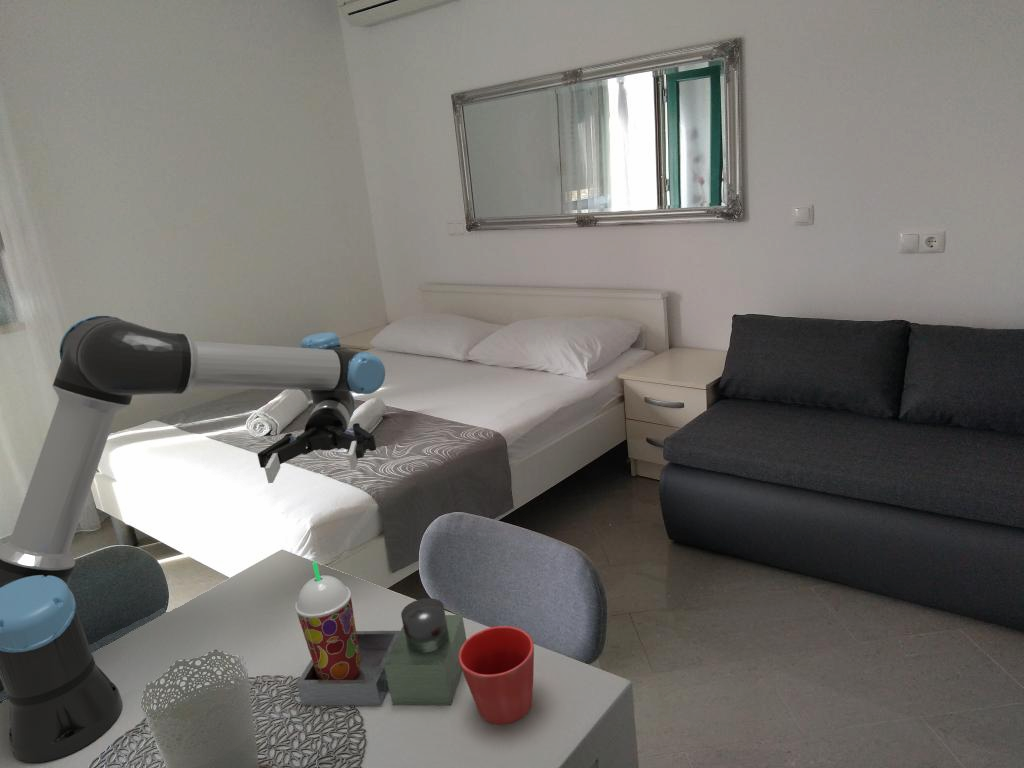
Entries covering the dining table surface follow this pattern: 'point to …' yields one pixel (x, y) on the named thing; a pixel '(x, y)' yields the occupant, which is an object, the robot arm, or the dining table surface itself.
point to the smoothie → (329, 627)
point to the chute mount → (398, 663)
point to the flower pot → (499, 672)
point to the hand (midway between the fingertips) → (310, 469)
